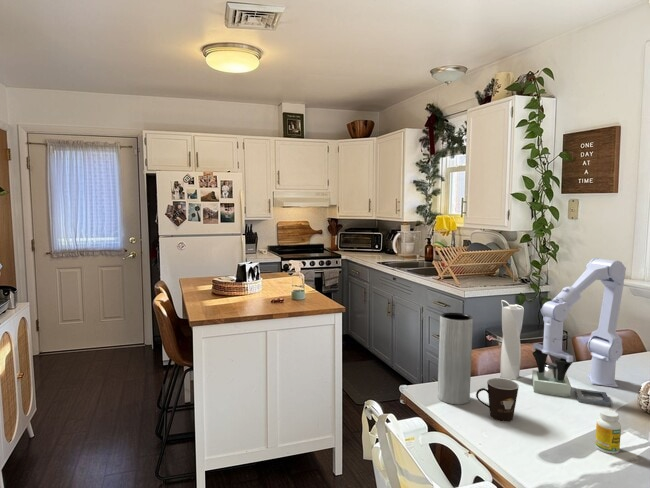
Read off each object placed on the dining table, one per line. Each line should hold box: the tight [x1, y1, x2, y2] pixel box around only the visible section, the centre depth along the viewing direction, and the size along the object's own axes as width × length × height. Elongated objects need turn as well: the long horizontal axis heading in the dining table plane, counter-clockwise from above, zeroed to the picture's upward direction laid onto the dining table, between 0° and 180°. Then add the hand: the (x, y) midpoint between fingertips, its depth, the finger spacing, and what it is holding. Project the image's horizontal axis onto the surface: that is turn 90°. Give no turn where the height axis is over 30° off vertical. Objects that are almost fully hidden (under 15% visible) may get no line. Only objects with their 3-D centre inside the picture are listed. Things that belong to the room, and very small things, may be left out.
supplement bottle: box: [594, 409, 622, 455], centre depth 118 cm, size 5×5×10 cm
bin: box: [531, 369, 572, 398], centre depth 157 cm, size 11×11×4 cm
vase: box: [437, 312, 474, 405], centre depth 147 cm, size 10×10×27 cm
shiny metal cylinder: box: [544, 362, 558, 382], centre depth 157 cm, size 4×4×7 cm
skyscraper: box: [499, 299, 525, 381], centre depth 167 cm, size 8×8×28 cm
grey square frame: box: [574, 387, 612, 408], centre depth 149 cm, size 9×9×1 cm
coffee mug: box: [475, 377, 520, 423], centre depth 136 cm, size 12×9×10 cm
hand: (550, 376), depth 157 cm, fingers open, 7 cm apart
